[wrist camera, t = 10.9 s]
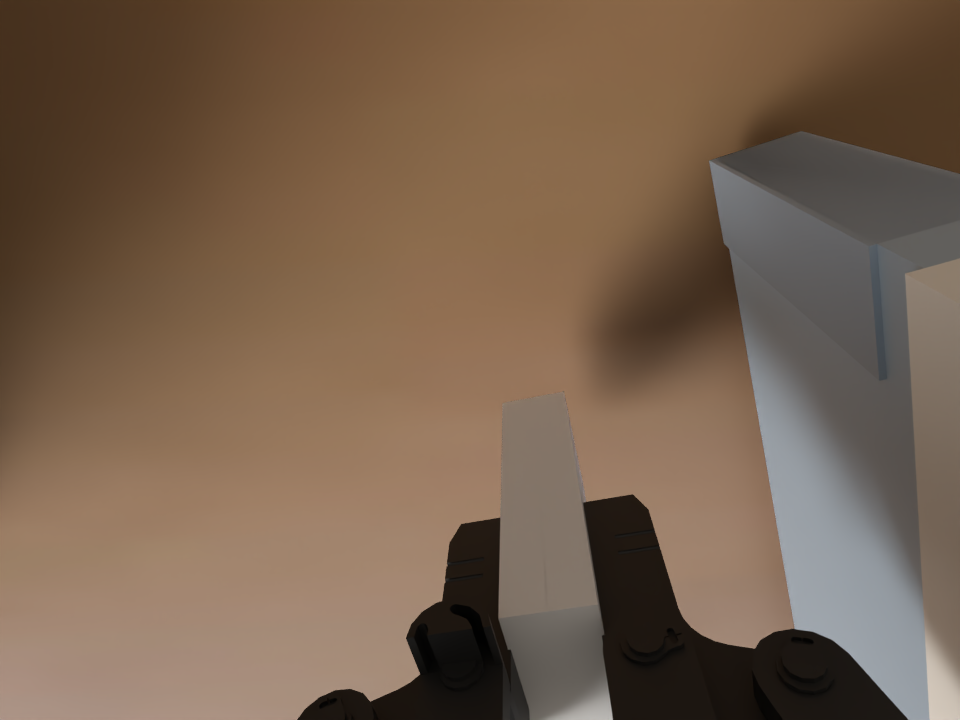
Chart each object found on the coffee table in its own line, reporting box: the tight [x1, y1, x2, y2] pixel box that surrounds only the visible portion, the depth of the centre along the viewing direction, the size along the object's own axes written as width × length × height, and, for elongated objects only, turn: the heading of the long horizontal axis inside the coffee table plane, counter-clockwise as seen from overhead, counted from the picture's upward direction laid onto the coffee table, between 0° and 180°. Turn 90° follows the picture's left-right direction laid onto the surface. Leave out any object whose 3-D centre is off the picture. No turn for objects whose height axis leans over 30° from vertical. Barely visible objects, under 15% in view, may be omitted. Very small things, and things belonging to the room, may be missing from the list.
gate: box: [709, 131, 960, 720], centre depth 14 cm, size 22×2×9 cm, turn 18°
